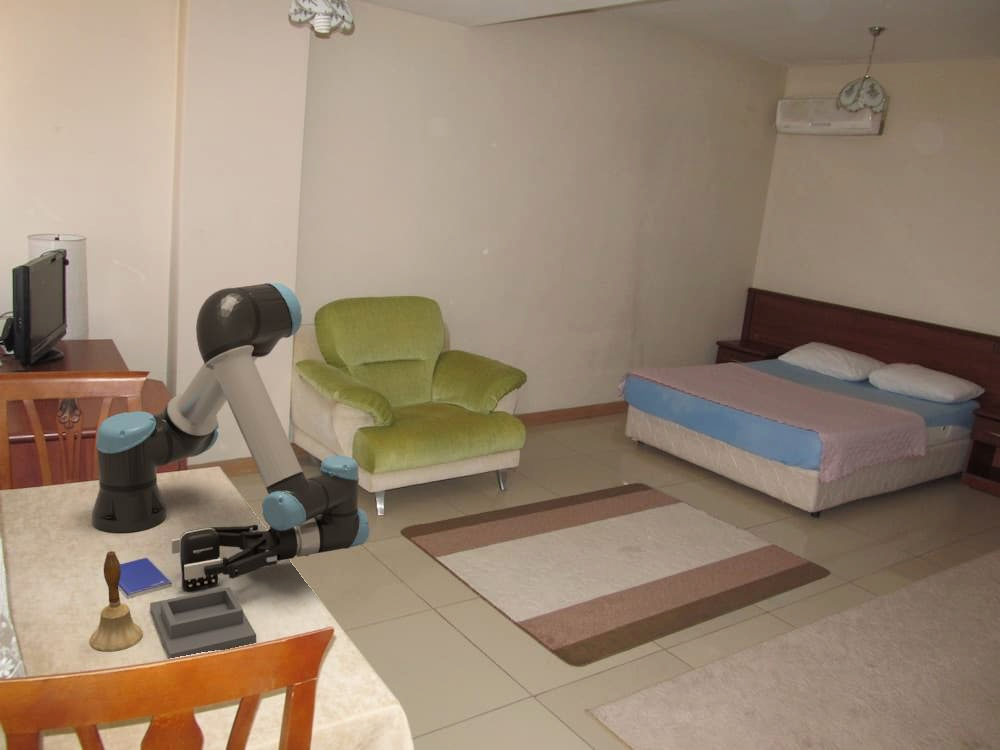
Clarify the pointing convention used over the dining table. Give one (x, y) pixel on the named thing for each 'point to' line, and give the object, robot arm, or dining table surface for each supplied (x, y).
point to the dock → (202, 623)
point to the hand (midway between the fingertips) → (178, 559)
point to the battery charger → (198, 555)
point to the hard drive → (141, 578)
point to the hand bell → (115, 615)
